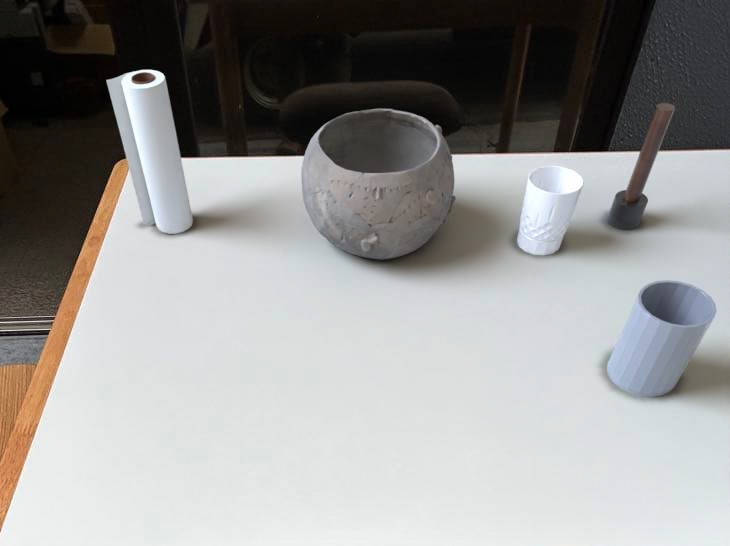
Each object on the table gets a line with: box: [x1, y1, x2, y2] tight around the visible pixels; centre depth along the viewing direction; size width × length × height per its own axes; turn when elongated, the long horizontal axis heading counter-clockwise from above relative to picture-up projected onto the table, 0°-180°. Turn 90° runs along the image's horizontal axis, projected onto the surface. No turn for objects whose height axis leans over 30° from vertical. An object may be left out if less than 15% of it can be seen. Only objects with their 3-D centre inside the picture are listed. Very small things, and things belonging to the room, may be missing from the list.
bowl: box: [300, 108, 457, 261], centre depth 99 cm, size 23×23×15 cm
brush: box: [606, 102, 676, 231], centre depth 99 cm, size 5×5×17 cm
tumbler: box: [606, 279, 717, 398], centre depth 82 cm, size 9×9×11 cm
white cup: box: [516, 165, 585, 256], centre depth 99 cm, size 8×8×10 cm
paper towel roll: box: [106, 69, 194, 235], centre depth 99 cm, size 7×6×21 cm
